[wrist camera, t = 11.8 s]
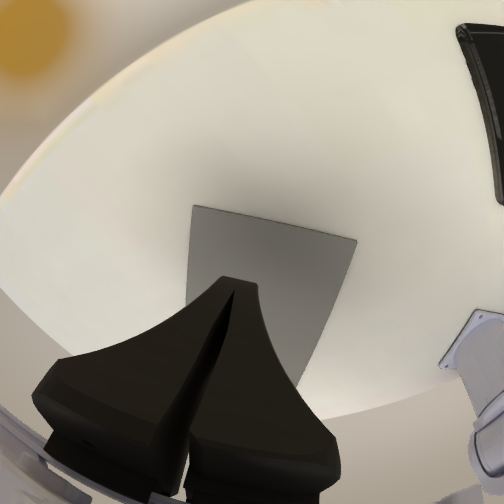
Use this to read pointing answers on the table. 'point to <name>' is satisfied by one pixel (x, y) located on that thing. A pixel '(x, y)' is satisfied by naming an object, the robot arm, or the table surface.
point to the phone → (488, 87)
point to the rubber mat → (272, 274)
